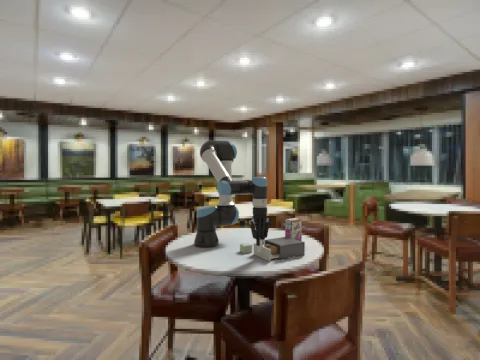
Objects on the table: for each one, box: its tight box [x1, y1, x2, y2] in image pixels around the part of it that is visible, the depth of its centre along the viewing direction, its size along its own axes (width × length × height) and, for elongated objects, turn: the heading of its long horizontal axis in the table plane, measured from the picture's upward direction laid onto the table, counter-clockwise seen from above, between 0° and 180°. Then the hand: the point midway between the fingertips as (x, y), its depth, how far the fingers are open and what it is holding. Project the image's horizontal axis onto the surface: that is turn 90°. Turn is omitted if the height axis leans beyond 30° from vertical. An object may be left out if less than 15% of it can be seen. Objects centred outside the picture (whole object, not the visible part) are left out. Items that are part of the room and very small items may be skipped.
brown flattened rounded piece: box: [265, 243, 280, 255], centre depth 156 cm, size 8×8×4 cm
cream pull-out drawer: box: [253, 242, 280, 263], centre depth 156 cm, size 16×15×6 cm
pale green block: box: [239, 242, 253, 254], centre depth 164 cm, size 5×5×4 cm
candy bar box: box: [284, 217, 303, 241], centre depth 176 cm, size 11×5×16 cm, turn 135°
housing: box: [263, 236, 306, 261], centre depth 160 cm, size 16×15×7 cm
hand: (260, 251), depth 152 cm, fingers closed
